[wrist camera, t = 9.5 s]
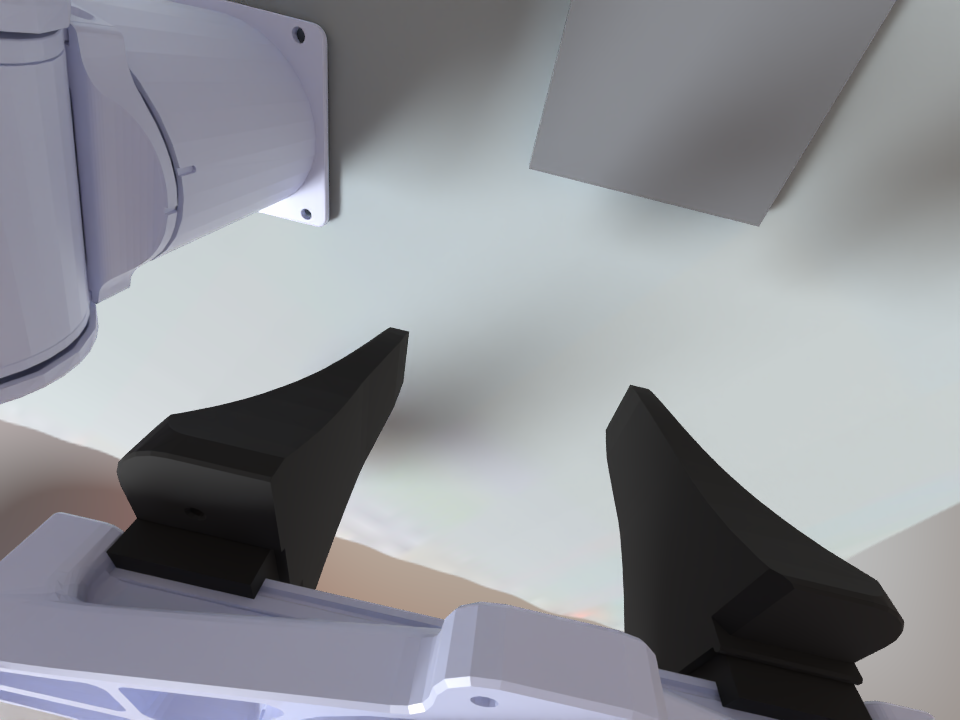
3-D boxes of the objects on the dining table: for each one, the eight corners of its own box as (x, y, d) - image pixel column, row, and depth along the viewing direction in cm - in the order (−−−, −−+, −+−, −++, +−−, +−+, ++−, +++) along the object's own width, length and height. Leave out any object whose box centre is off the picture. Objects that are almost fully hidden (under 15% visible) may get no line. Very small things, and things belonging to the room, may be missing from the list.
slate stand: (529, 163, 18) (529, 168, 17) (620, -194, 12) (627, -217, 11) (747, 218, 18) (758, 226, 17) (938, -108, 12) (972, -125, 11)
